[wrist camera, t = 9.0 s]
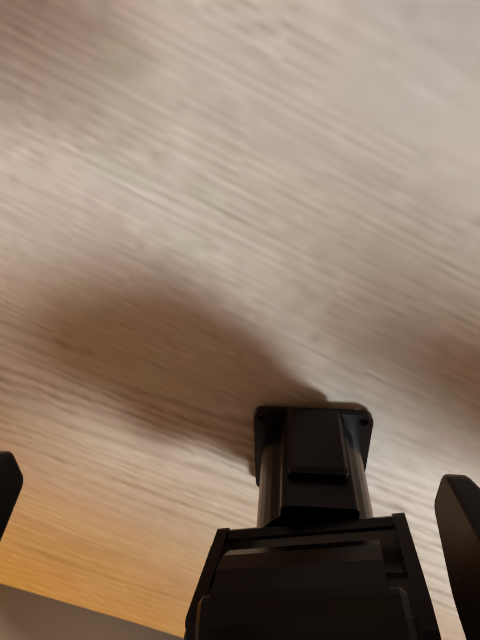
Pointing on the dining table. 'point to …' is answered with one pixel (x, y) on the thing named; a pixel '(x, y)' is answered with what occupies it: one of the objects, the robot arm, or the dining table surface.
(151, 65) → the dining table surface
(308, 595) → the robot arm
